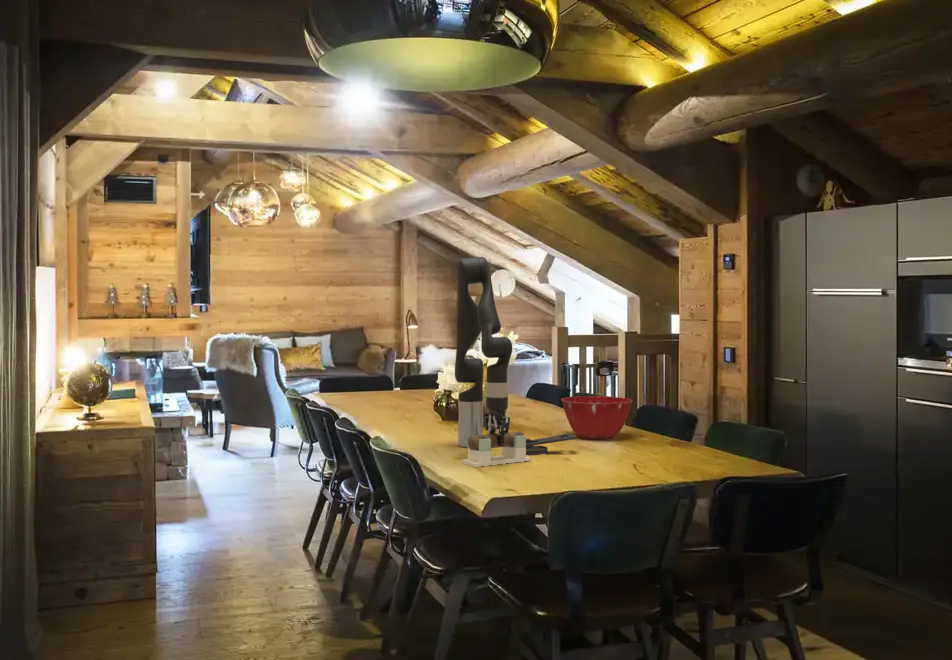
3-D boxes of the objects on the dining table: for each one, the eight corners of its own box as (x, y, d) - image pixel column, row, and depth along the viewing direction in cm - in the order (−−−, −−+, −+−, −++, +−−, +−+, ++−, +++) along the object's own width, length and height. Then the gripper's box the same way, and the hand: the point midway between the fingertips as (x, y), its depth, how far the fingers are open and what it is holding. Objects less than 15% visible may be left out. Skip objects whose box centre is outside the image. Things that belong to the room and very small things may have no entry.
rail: (474, 450, 309) (474, 436, 309) (467, 449, 313) (467, 435, 313) (525, 445, 319) (524, 432, 319) (517, 444, 323) (517, 430, 323)
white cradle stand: (475, 467, 307) (475, 440, 307) (462, 463, 315) (462, 436, 314) (530, 461, 318) (530, 435, 318) (516, 457, 326) (516, 432, 325)
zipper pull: (577, 436, 332) (509, 437, 328) (577, 454, 332) (508, 456, 329) (571, 432, 341) (504, 434, 337) (571, 450, 341) (504, 452, 337)
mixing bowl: (561, 431, 388) (561, 394, 387) (629, 432, 385) (629, 395, 385) (561, 442, 360) (561, 402, 359) (634, 443, 357) (635, 403, 356)
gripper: (476, 393, 320) (476, 442, 321) (498, 398, 307) (498, 448, 308) (495, 392, 324) (495, 441, 324) (517, 396, 311) (517, 447, 312)
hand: (496, 444), depth 316 cm, fingers closed on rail, 4 cm apart
